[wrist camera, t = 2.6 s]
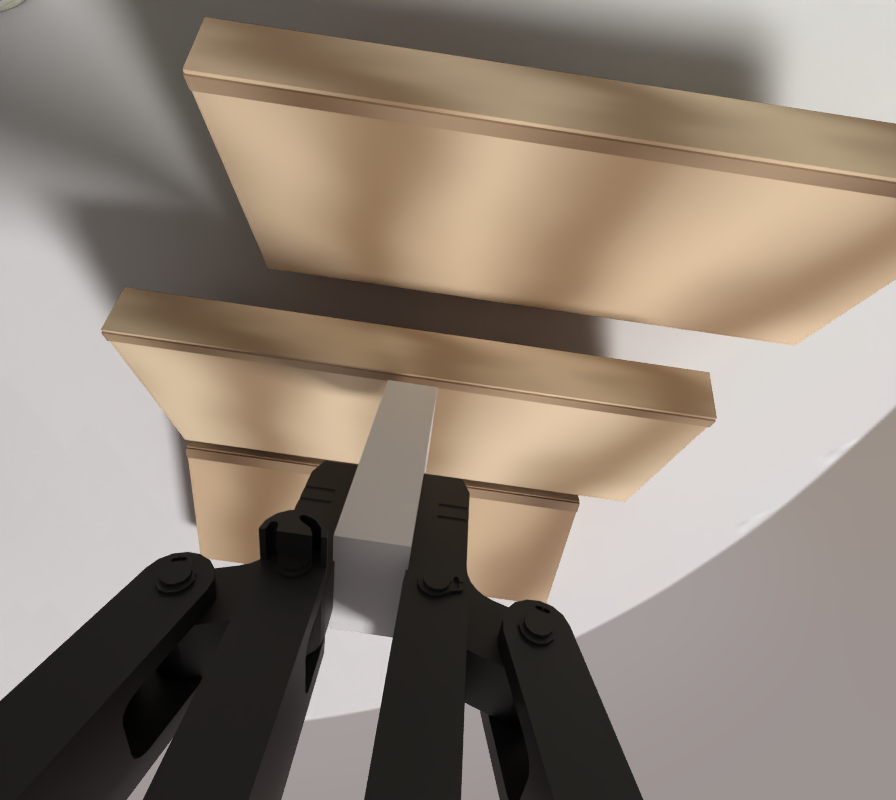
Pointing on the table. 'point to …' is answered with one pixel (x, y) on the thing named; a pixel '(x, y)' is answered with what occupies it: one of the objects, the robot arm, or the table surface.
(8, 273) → the table surface
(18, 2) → the coffee can
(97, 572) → the table surface
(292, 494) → the laid board
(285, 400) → the plank
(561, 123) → the plank
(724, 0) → the table surface
